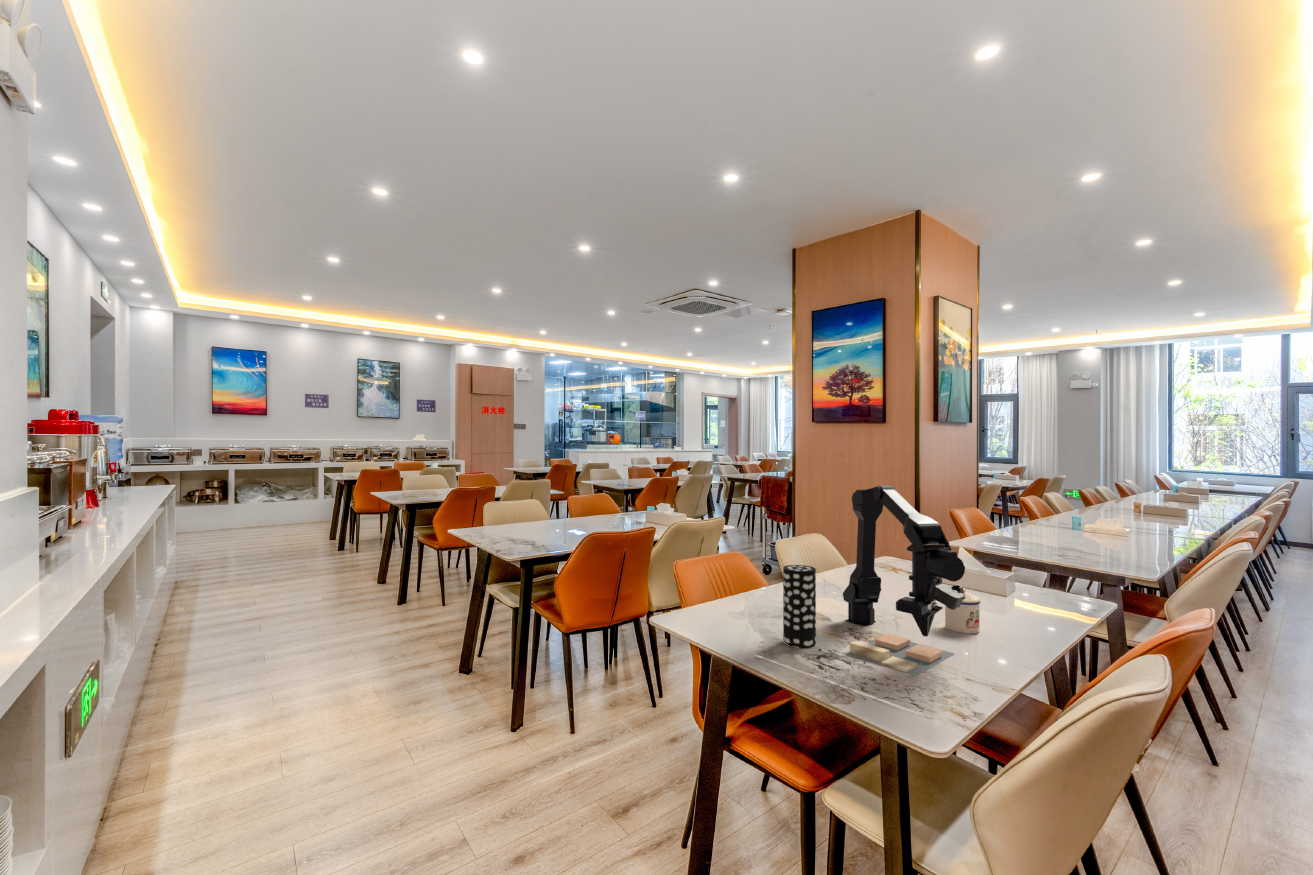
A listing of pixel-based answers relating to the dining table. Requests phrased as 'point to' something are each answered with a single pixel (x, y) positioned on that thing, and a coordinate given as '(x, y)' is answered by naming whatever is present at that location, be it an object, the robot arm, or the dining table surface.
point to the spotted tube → (799, 606)
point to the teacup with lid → (964, 615)
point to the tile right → (924, 653)
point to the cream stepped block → (881, 656)
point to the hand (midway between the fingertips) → (925, 635)
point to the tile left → (892, 642)
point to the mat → (901, 654)
